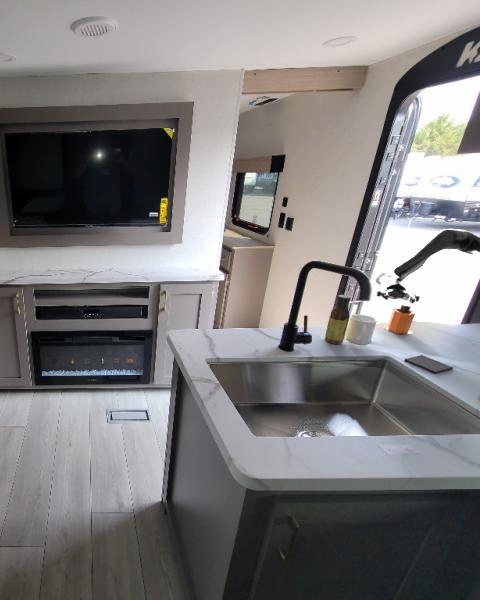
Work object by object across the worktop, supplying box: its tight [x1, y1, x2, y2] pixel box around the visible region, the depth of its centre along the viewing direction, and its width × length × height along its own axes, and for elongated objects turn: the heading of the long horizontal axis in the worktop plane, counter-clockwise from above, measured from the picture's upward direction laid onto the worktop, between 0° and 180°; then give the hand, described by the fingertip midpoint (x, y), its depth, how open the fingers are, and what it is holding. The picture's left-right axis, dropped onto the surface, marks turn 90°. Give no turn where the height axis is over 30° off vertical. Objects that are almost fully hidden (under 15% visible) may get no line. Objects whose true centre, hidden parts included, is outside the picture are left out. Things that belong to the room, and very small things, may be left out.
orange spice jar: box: [387, 307, 416, 335], centre depth 139 cm, size 6×6×9 cm
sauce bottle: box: [324, 294, 351, 345], centre depth 132 cm, size 7×6×20 cm
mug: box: [344, 313, 378, 346], centre depth 132 cm, size 12×8×10 cm
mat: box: [404, 354, 454, 375], centre depth 117 cm, size 9×9×1 cm
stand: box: [382, 303, 413, 336], centre depth 138 cm, size 7×7×13 cm
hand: (399, 299), depth 145 cm, fingers open, 8 cm apart
